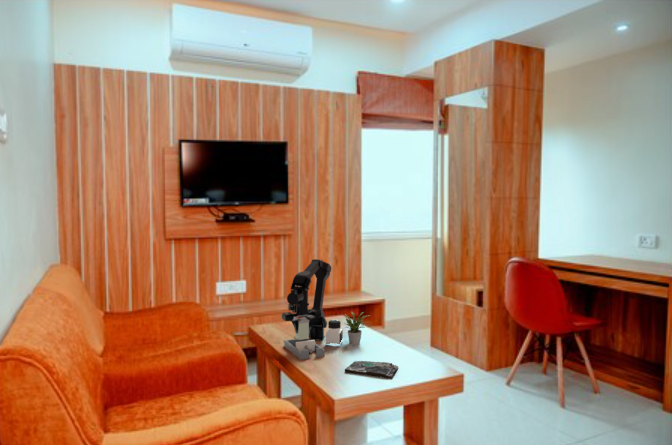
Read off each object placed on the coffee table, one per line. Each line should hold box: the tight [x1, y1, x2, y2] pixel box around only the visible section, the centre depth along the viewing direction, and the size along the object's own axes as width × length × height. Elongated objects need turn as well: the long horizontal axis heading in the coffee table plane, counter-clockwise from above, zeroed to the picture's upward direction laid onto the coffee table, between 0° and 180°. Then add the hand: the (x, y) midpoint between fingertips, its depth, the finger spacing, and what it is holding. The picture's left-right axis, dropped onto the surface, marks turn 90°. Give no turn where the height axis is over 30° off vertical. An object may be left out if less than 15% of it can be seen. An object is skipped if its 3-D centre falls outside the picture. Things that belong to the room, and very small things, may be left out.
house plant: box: [344, 311, 371, 346], centre depth 241 cm, size 14×14×16 cm
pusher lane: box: [283, 338, 326, 360], centre depth 228 cm, size 21×12×4 cm, turn 26°
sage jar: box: [294, 317, 310, 340], centre depth 230 cm, size 5×5×9 cm
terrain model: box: [344, 360, 399, 380], centre depth 205 cm, size 20×15×3 cm
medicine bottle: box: [325, 319, 344, 345], centre depth 239 cm, size 7×7×12 cm
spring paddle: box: [295, 340, 316, 354], centre depth 224 cm, size 8×9×5 cm
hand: (301, 332), depth 230 cm, fingers closed on sage jar, 5 cm apart
